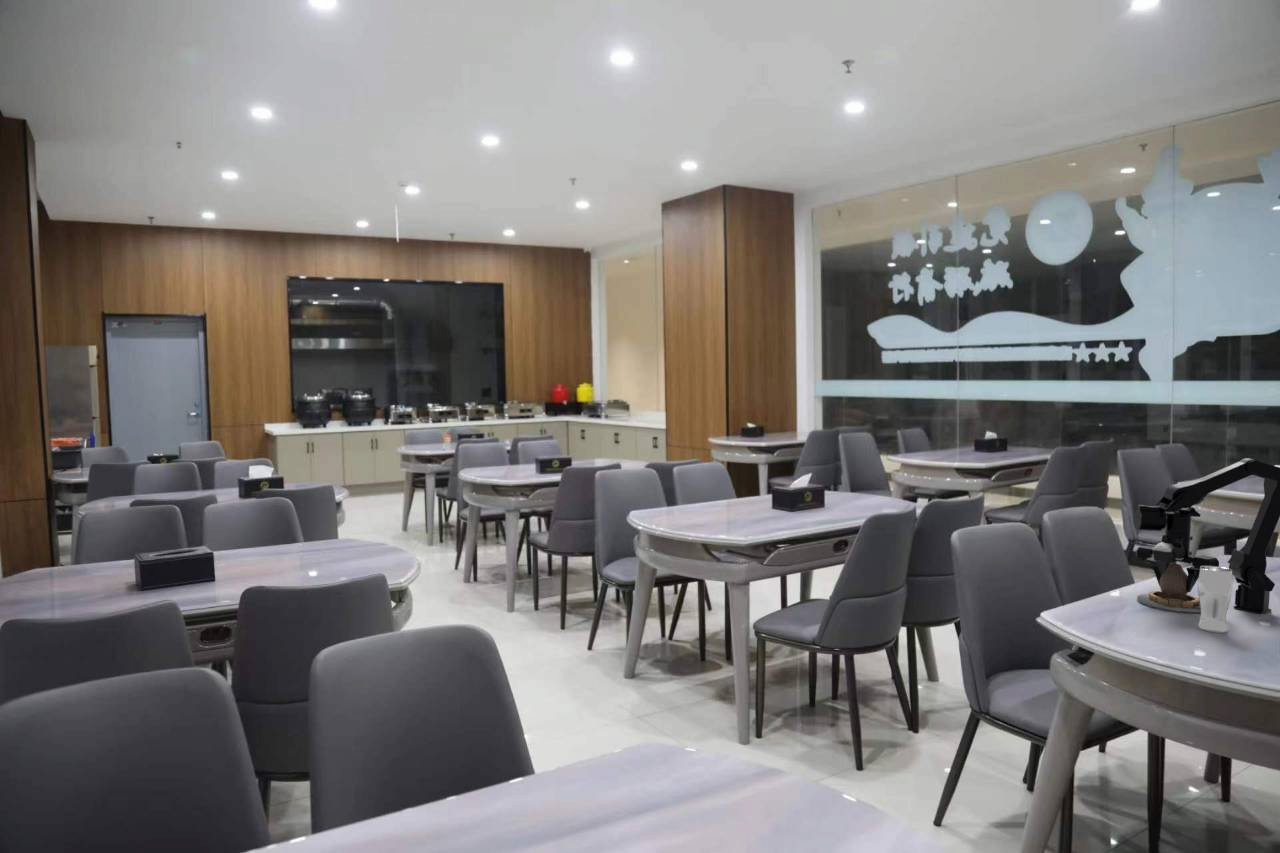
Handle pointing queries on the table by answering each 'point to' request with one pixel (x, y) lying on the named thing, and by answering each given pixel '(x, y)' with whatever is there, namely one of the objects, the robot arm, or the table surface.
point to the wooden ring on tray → (1170, 602)
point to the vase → (1174, 581)
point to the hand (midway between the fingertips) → (1174, 589)
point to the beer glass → (1214, 597)
